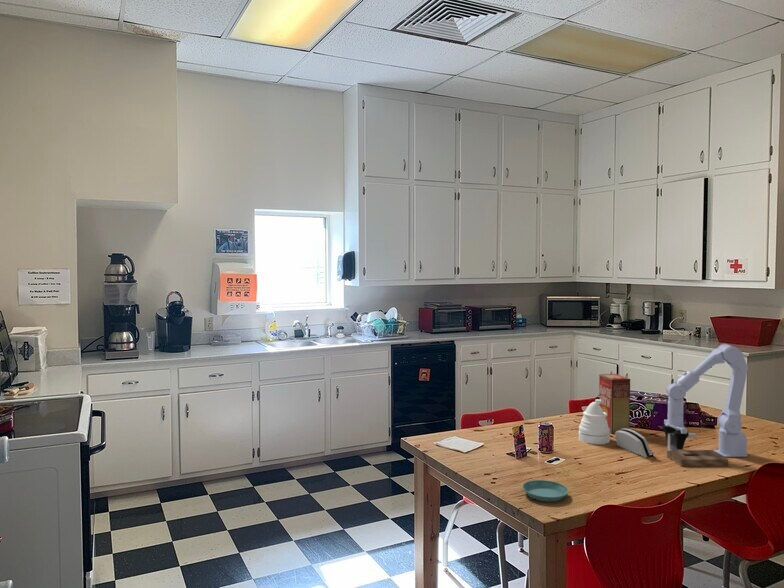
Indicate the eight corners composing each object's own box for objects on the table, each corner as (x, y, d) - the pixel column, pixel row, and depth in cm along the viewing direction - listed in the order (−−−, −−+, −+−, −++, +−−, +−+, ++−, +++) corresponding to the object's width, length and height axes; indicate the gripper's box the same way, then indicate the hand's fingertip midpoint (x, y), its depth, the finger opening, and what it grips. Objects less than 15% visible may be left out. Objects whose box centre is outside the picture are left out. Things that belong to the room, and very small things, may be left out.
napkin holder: (655, 456, 233) (648, 434, 232) (645, 461, 232) (639, 439, 231) (627, 444, 249) (620, 423, 248) (618, 449, 248) (611, 427, 247)
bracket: (693, 449, 242) (694, 432, 242) (696, 451, 240) (696, 434, 240) (667, 450, 242) (667, 433, 241) (669, 451, 240) (670, 434, 239)
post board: (711, 456, 234) (711, 450, 233) (728, 465, 223) (728, 459, 222) (666, 456, 233) (667, 450, 233) (681, 466, 222) (681, 459, 222)
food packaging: (597, 426, 277) (598, 373, 276) (616, 425, 278) (617, 373, 277) (611, 434, 264) (612, 379, 263) (631, 433, 265) (632, 378, 264)
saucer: (542, 508, 185) (542, 499, 185) (513, 491, 198) (513, 484, 198) (577, 499, 191) (577, 492, 191) (547, 484, 205) (547, 477, 205)
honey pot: (615, 441, 254) (616, 399, 253) (597, 446, 247) (597, 404, 246) (590, 433, 265) (591, 394, 264) (572, 438, 258) (572, 398, 257)
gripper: (657, 409, 247) (656, 440, 248) (674, 418, 233) (674, 451, 233) (673, 408, 247) (673, 440, 248) (692, 417, 233) (691, 451, 233)
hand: (674, 446), depth 241 cm, fingers open, 7 cm apart
